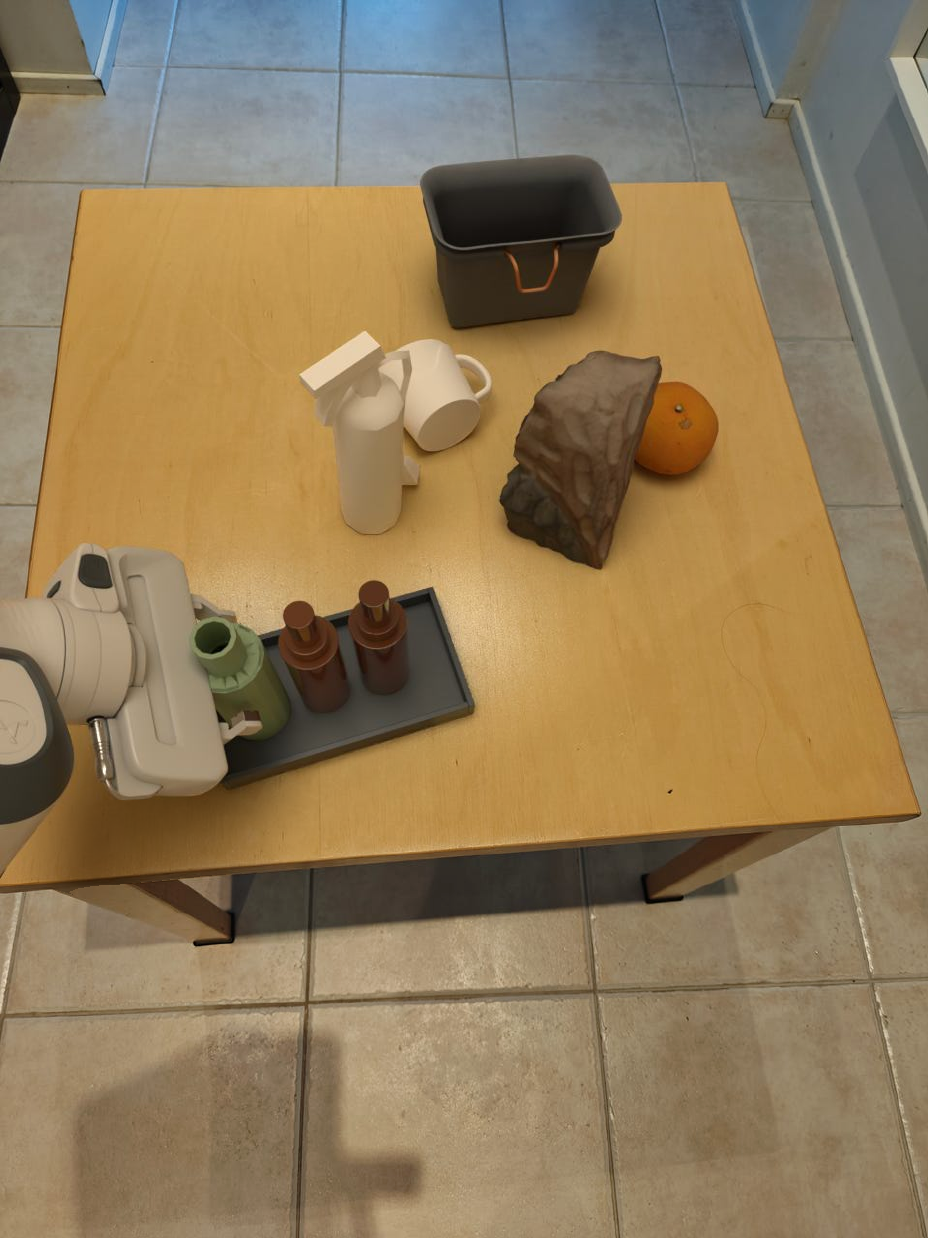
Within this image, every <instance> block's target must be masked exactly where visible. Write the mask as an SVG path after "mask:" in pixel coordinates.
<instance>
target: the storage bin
mask: <svg viewBox="0 0 928 1238" xmlns="http://www.w3.org/2000/svg"><path fill="white" fill-rule="evenodd" d="M419 186H420V190H421V193H422V205H423V207H424V211H425V214H426V219H427V222H428V227H429V230H430V234H431V239H432V241H433V245H434V248H435V260H436V261H435V263H436V277H437V284H438V287H439V290H440V295H441V298H442V301H443V305H444V309H445V313H446V315H447V316H446V317H447V320H448V324H449V325H450V326H451V327H453V328H466V327H473V326H481V325H489V324H495V323H505V322H514V321H521V320H529V319H538V318H547V317H555V316H556V317H557V316H565V315H571V314H574V313H576V312H577V310H578V308H579V306H580V304H581V300H582V297H583V296H584V292H585V290H586V287H587V285H588V281H589V279H590V276H591V275H592V271H593V268H594V265H595V263H596V261H597V257H598V255H599V252H600V249H601V248H603V247H605V246H607V245H609V244H610V243H611V242H612V241H613V240H614V237H615V234H616V230H618V228H620V226H621V224H622V222H623V214H622V210H621V208H620V206H619V203H618V201H617V199H616V196H615V193H614V191H613V189H612V186H611V184H610V182H609V179H608V177H607V173H606V172H605V170H604V168H603V167H602V165H601V164H600V163H599V162H598V161H597V160H595V159H594V158H590V157H588V156H586V155H581V154H564V155H562V154H561V155H548V156H533V157H522V158H521V157H520V158H508V159H495V160H485V161H484V160H483V161H473V162H463V163H462V162H461V163H453V164H452V163H451V164H442V165H437V166H434V167H431V168H429V169H428V170H426V171H425V172H424V173H423V174H422V175H421V178H420V181H419Z"/></svg>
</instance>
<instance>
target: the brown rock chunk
mask: <svg viewBox="0 0 928 1238" xmlns="http://www.w3.org/2000/svg"><path fill="white" fill-rule="evenodd" d="M662 372H663V367H662V364H661V358H660V356H659V355H654V356H649V357H646V358H637V357H633V356H628V355H622V354H617V353H614V352H610V351H607V350H594V351H591V352H588V353H587V354H586V355H585V357H584V358H583V359H581V360H580V361H578V362H577V363H573V364H570V365H568V366H567V367H566V369H565V370H564V371H563V372H562V373H561V374H558V375H557V376H556V378H555V379H554V380H553V381H549V382H547V383H545V385H544V386H542V388H541V389H539V390H538V391H537V392H536V394H534V398H533V405H532V407H531V408H530V409H529V411H528V413H527V414H525V416H524V417H523V419H522V421H521V424H520V426H519V429H518V433H517V435H516V436H515V442H514V447H513V448H514V449H513V454H512V457H513V458H515V461H516V462H517V464H516V465H515V466H514V467H513V468H512V469H511V470H510V471H509V472H508V473H506V479H507V481H506V483H505V484H504V485H503V486H502V487H501V491H500V495H499V499H498V502H499V504H500V505H501V507H502V508H503V512H504V515H505V517H506V520H507V523H506V527H507V529H508V531H510V533H512V534H514V535H515V536H517V537H520V538H522V539H526V540H531V541H532V542H533V541H534V542H535V544H536V545H537V546H538V547H541V548H548V549H550V550H551V551H553V552H556V553H559V554H561V555H562V556H564V557H565V558H566V559H567V560H570V561H572V562H575V563H578V564H583V565H584V564H585V566H589V567H590V568H594V569H596V570H602V569H603V563H604V561H605V560H606V559H607V558H608V556H609V555H610V554H609V553H610V549H611V547H612V543H613V539H614V535H615V529H616V524H617V522H618V519H619V515H620V513H621V510H622V506H623V504H624V500H625V497H626V495H627V492H628V489H629V485H630V482H631V477H632V475H633V471H634V467H635V461H636V460H635V457H636V453H637V450H638V447H639V445H640V442H641V439H642V436H643V433H644V430H645V426H646V421H647V418H648V416H649V414H650V412H651V410H652V407H653V404H654V395H655V392H656V389H657V386H658V383H660V381H661V378H662V375H663V374H662Z"/></svg>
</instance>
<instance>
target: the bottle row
mask: <svg viewBox="0 0 928 1238" xmlns="http://www.w3.org/2000/svg"><path fill="white" fill-rule="evenodd" d="M357 593H358V594H357V595H358V601H359V602H357V604H355V606H354V607H353V608H352V609H353V610H352V611H351V613H350V616H349V620H348V628H349V632H350V637H351V641H352V645H353V650H354V654H355V659H356V663H357V667H358V672H359V676H360V680H361V682H362V684H363V685H364V687H365V688H366V689H368V690H369V691H370V692H372V693H375V694H378V695H390V694H393V693H396V692H398V691H399V690H401V689H402V688H403V687H404V686H405V684H406V683H407V681H408V679H409V675H410V663H409V644H408V626H407V616H406V613H405V611H404V609H403V608H402V607H401V605H400V604H399V603H397V602H396V601H395V600H393V599H391V598H392V597H391V598H390V591H389V587H388V586H387V585H386V584H385V583H384V582H382V581H380V580H375V579H373V580H369V581H368V580H367V581H366V582H364V583H363V584H362V585H361V586H360V587H359V589H358V592H357ZM323 617H324V616H320V615H316V613H315V610H314V607H313V606H312V605H311V604H310V603H309V602H307V601H304V600H294V601H291V602H290V603H288V604H287V605H286V606H285V608H284V610H283V612H282V619H283V622H284V624H285V626H284V627H283V630H282V632H281V634H280V636H279V640H278V648H279V652H280V655H281V657H282V659H283V661H284V663H285V666H286V668H287V670H288V672H289V674H290V676H291V679H292V681H293V683H294V685H295V687H296V689H297V692H298V694H299V696H300V698H301V700H302V702H303V704H304V705H305V706H306V707H307V708H308V709H310V710H312V711H314V712H317V713H330V712H334V711H336V710H338V709H339V708H341V707H342V706H343V705H344V704H345V703H346V701H347V700H348V698H349V696H350V692H351V683H350V679H349V675H348V672H347V668H346V664H345V660H344V656H343V653H342V649H341V645H340V641H339V637H338V634H337V631H336V629H335V627H334V626H333V625H332V624H331V623H330V622H329V621H328V620H327V619H325V618H323Z"/></svg>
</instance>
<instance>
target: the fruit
mask: <svg viewBox="0 0 928 1238" xmlns="http://www.w3.org/2000/svg"><path fill="white" fill-rule="evenodd" d="M719 424H720V423H719V418H718V415H717V413H716V411H715V409H714V408H713V407H712V405H711V404H710V402H709V401H708V400H707V397H705V396H704V395H703V394H702V393H701V392H700V391H698V390H697V389H696V388H695V387H694V386H692V385H690V384H688V383H686V382H682V381H666V382H659V383H658V386H657V389H656V392H655V395H654V404H653V407H652V410H651V412H650V414H649V416H648V418H647V421H646V426H645V430H644V433H643V436H642V439H641V442H640V445H639V447H638V450H637V453H636V457H635V460H634V461H636V462H637V464H639V465H641V466H642V467H644V468H646V469H648V470H650V471H652V472H654V473H658V474H662V475H672V476H674V475H681V474H684V473H688V472H689V471H692V470H693V469H694V468H696V467H697V466H698V465H701V463H702V462H703V461H705V460H706V459H707V458H708V457H709V455H710V454H711V452H712V451H713V448H714V446H715V444H716V441H717V438H718V434H719Z"/></svg>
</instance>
